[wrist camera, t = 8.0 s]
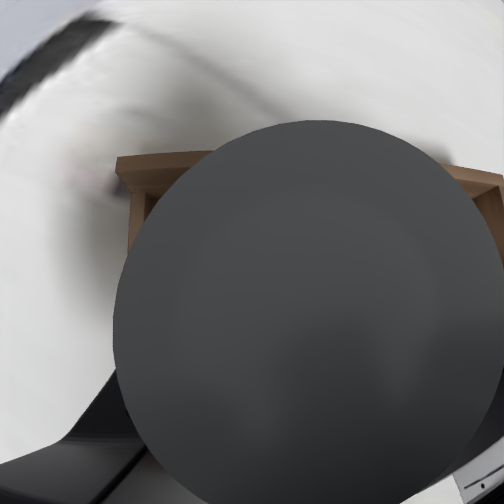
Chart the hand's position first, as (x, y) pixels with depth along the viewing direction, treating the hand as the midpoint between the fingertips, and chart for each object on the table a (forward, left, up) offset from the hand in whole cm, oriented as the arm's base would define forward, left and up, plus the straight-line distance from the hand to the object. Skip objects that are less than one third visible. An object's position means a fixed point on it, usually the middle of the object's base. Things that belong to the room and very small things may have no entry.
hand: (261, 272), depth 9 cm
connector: (-1, -1, -6) cm, 7 cm away
